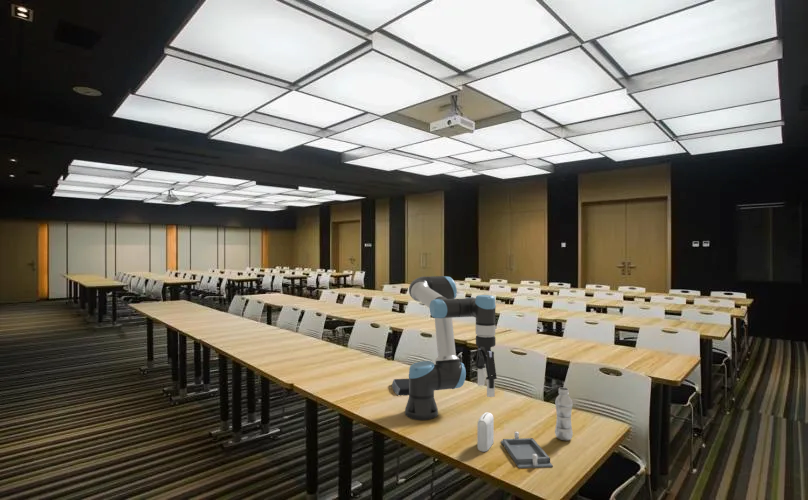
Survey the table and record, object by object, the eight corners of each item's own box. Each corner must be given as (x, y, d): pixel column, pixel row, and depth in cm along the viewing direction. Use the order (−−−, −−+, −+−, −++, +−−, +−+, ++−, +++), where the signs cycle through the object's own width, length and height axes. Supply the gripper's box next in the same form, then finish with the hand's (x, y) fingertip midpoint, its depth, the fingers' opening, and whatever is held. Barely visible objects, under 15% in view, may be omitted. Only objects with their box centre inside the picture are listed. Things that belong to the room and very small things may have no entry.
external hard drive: (396, 396, 215) (396, 389, 215) (390, 385, 234) (390, 378, 234) (420, 395, 218) (420, 387, 218) (413, 384, 237) (413, 377, 237)
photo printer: (484, 439, 164) (484, 408, 164) (494, 442, 162) (494, 410, 162) (476, 450, 155) (475, 417, 155) (487, 453, 152) (487, 419, 153)
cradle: (518, 468, 142) (518, 456, 142) (501, 442, 162) (501, 431, 162) (552, 467, 142) (552, 455, 142) (530, 441, 162) (530, 431, 162)
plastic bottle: (552, 435, 167) (551, 386, 168) (568, 435, 168) (567, 386, 168) (559, 443, 161) (559, 391, 161) (575, 442, 161) (575, 391, 162)
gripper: (505, 341, 147) (505, 401, 146) (486, 329, 171) (486, 380, 171) (484, 342, 146) (484, 402, 146) (468, 329, 171) (468, 381, 170)
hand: (485, 390), depth 158 cm, fingers open, 13 cm apart
